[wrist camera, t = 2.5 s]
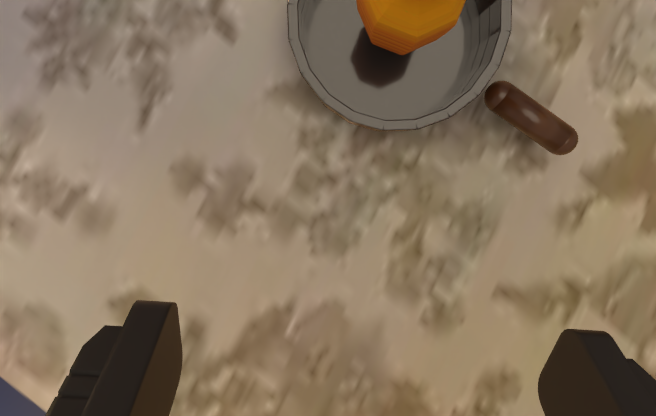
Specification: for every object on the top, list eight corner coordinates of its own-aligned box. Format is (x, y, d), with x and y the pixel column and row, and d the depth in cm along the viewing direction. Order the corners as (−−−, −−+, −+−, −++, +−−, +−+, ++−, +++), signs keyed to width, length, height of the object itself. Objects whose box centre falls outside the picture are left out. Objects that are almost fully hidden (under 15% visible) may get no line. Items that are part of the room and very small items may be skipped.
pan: (259, 61, 31) (245, 48, 27) (367, -110, 30) (371, -153, 25) (412, 167, 32) (424, 172, 28) (526, 6, 30) (558, -16, 26)
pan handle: (474, 102, 29) (482, 99, 27) (492, 76, 29) (502, 72, 27) (556, 160, 29) (570, 161, 28) (575, 135, 29) (590, 135, 27)
